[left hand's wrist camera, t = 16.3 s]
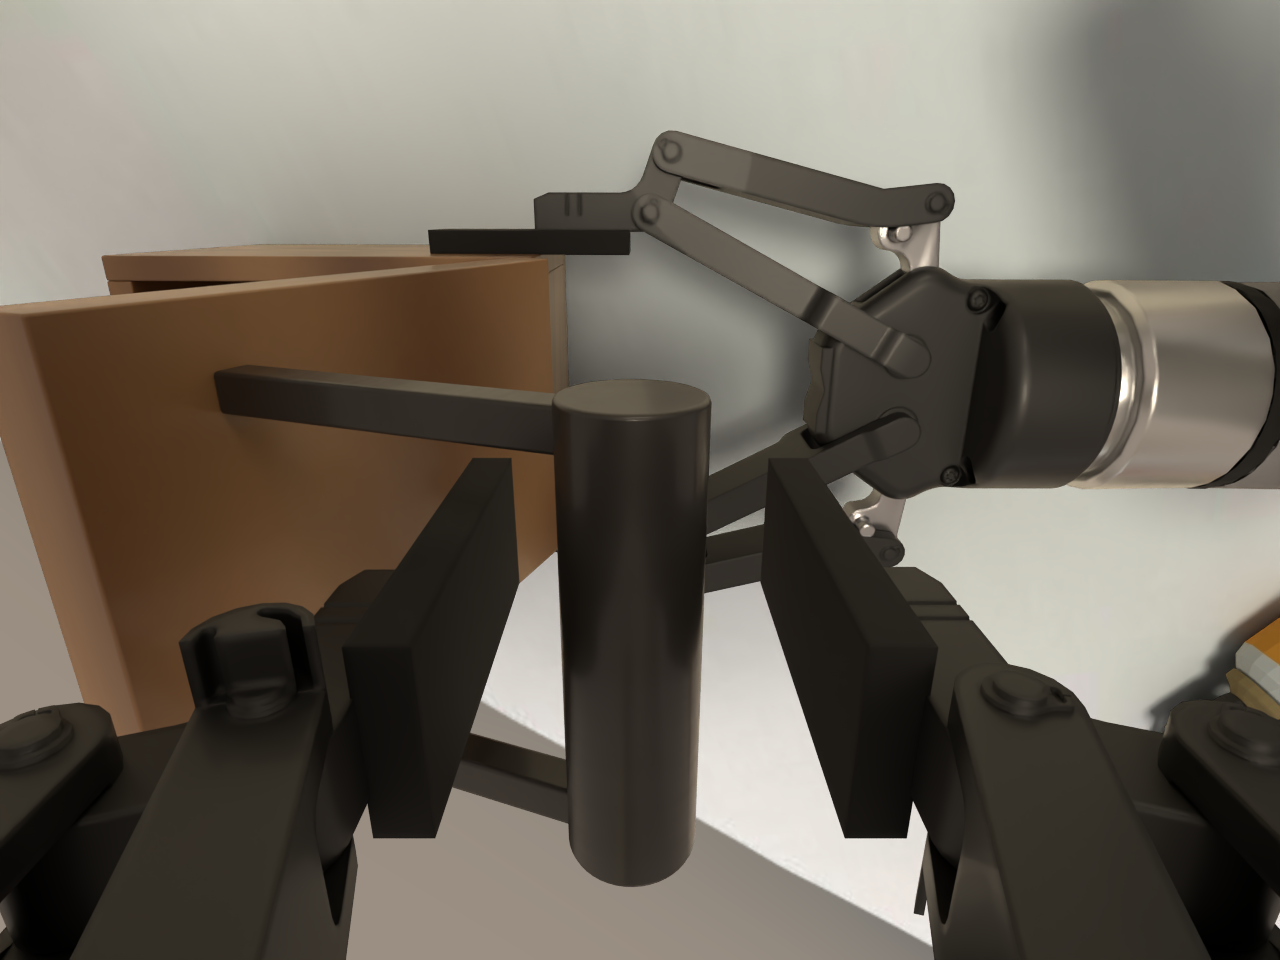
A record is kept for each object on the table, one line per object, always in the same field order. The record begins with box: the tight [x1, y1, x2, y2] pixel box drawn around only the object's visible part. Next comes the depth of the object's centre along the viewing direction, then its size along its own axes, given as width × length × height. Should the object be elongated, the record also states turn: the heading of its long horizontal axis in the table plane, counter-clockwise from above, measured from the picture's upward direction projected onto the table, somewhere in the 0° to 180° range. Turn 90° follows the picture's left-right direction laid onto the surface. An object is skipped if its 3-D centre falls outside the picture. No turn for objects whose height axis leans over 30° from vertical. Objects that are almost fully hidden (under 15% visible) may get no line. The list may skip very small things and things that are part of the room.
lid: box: [0, 258, 711, 887], centre depth 15 cm, size 14×9×9 cm
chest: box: [102, 244, 569, 394], centre depth 28 cm, size 13×9×10 cm
